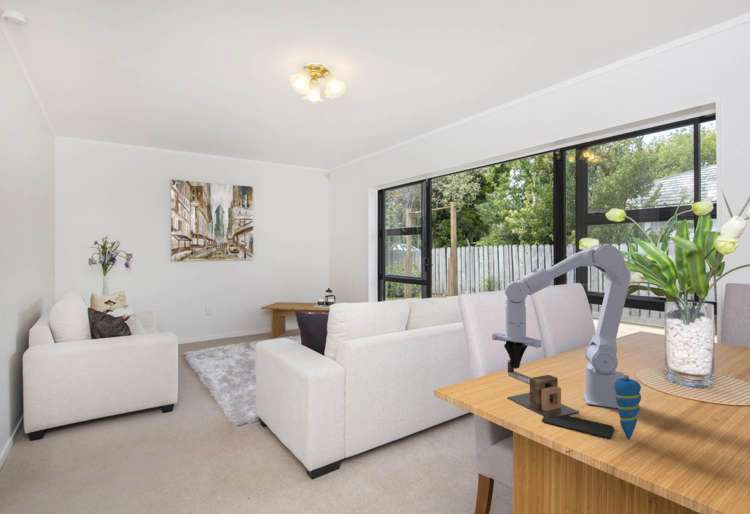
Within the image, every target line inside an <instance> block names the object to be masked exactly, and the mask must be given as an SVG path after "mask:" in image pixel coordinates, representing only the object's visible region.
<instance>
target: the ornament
mask: <svg viewBox="0 0 750 514" xmlns="http://www.w3.org/2000/svg"><path fill="white" fill-rule="evenodd" d="M614 389H615V392H616V394H617V396H616V402H617V404H618V406H619V408H617V412H618V414H619V423H620V426H621V429H622V432H623V433H624V434H625V437H626V439H628V440H630V439H631V438H632V436H633V433H634V431H635V428H636V425H637V422H638V414H639V411H640V405H639V404H640V403H641V401H642V395H641V393H640V392H641V390H642V385H641V383H639V382H638V381H637V380H635V379H632V378H630V375H629V373H628V374H624V378H619V379H617V380H616V382H615V385H614Z"/></svg>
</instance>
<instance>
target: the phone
mask: <svg viewBox="0 0 750 514" xmlns="http://www.w3.org/2000/svg"><path fill="white" fill-rule="evenodd" d="M541 422H542V423H543V424H546V425H549V426H552V427H553V426H554V427H557V428H560V429H561V428H562V429H565V430H566V429H567V430H570V431H574V432H577V433H581V434H585V435H589V436H594V437H597V438H600V439H606V440H611V439H612V437H613V434H614V431H615V427H614V425H610V424H607V423H602V422H597V421H593V420H588V419H585V418H582V417H581V418H580V417H575V416H572V415H569V416H568V415H563V416H559V417H555V418H549V417H547V416H542V419H541Z"/></svg>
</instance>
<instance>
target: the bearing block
mask: <svg viewBox="0 0 750 514" xmlns="http://www.w3.org/2000/svg"><path fill="white" fill-rule="evenodd" d="M558 384H559V383H558V377H556V376H553V375H550V374H545V375H540V376H534V377H531V378H530V385H529V393H530V405H531V406H533V407H535V408H537V409H541V389H543V388H548V387H553V386H558ZM558 387H559V386H558ZM550 402H553V394H550V395H549V403H550Z"/></svg>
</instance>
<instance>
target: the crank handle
mask: <svg viewBox="0 0 750 514" xmlns="http://www.w3.org/2000/svg"><path fill="white" fill-rule="evenodd" d="M507 375H508V377H510V378H513V379H515V380H518V381H520V382H522V383H525V384H527V385H529V386H530V378H532V377H531V376H528V375H525V374H524V373H523V374H522V373H520V372H518V371H515V368H512V364H511V360H510V359H508V360H507Z"/></svg>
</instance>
